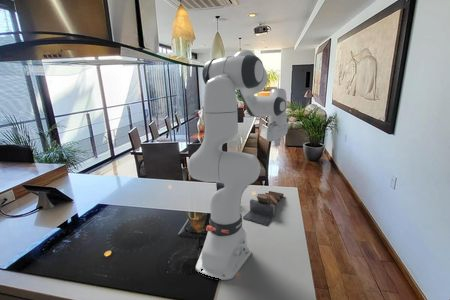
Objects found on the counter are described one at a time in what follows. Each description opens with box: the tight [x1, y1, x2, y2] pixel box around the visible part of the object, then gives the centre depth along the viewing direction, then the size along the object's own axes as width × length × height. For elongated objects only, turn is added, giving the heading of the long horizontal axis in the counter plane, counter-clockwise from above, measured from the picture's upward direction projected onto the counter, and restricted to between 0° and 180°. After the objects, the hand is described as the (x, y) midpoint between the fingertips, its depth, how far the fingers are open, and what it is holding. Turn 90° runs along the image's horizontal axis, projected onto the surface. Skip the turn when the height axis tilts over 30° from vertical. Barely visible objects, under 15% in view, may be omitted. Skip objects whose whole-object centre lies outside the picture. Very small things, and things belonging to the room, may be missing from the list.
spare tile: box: [263, 193, 278, 205], centre depth 122 cm, size 2×5×10 cm
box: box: [215, 182, 225, 191], centre depth 129 cm, size 8×6×11 cm
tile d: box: [260, 193, 275, 205], centre depth 119 cm, size 2×5×10 cm
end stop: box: [242, 199, 276, 227], centre depth 112 cm, size 9×12×6 cm
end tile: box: [268, 190, 284, 198], centre depth 129 cm, size 2×5×10 cm
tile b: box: [264, 192, 281, 201], centre depth 125 cm, size 2×5×10 cm
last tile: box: [256, 193, 270, 204], centre depth 116 cm, size 2×5×10 cm, turn 56°
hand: (277, 146), depth 129 cm, fingers closed
